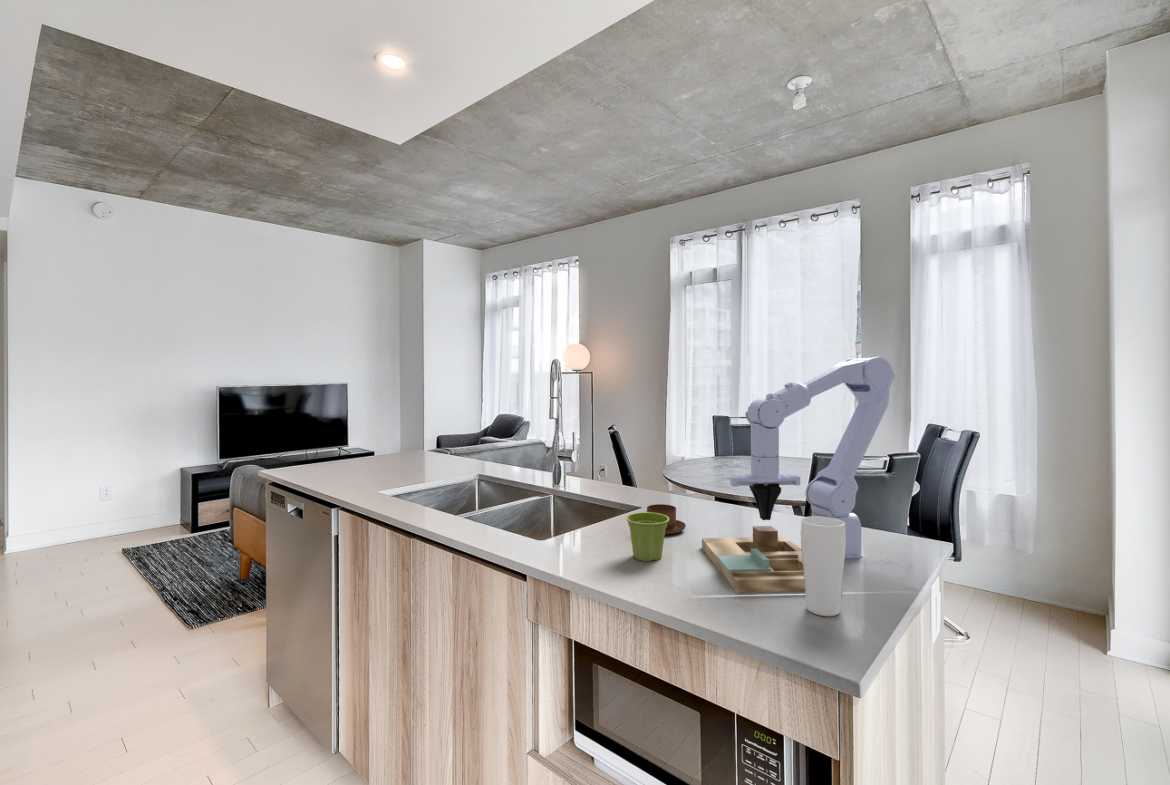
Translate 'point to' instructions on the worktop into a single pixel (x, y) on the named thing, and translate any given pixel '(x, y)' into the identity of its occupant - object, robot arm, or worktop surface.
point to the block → (765, 538)
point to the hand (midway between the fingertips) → (765, 519)
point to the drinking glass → (823, 563)
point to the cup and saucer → (670, 511)
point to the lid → (745, 562)
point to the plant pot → (647, 534)
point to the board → (780, 578)
